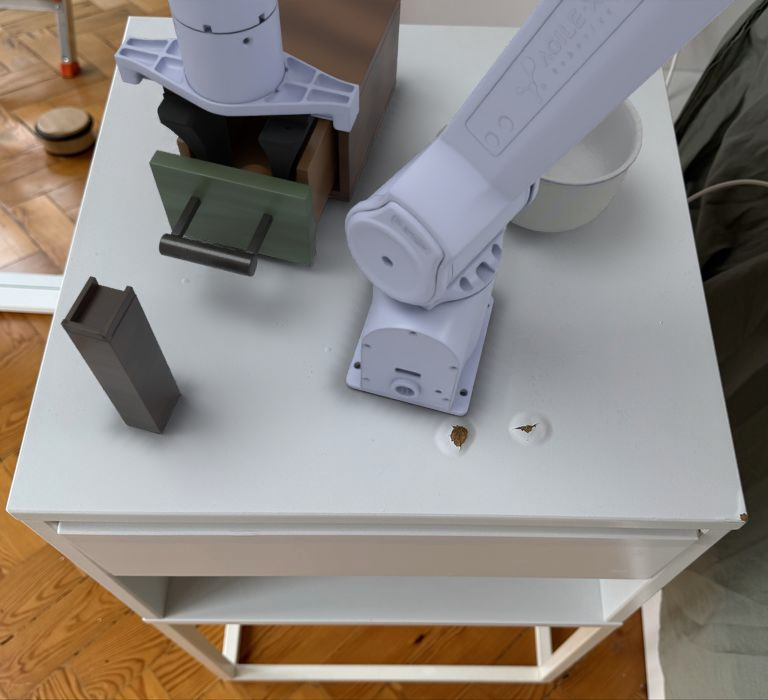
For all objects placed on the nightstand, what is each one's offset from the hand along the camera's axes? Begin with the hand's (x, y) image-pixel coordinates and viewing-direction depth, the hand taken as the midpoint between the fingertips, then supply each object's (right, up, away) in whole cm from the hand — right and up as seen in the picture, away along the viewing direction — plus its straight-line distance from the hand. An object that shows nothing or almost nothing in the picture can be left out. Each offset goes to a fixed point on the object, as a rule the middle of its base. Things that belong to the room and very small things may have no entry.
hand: (254, 181), depth 50 cm
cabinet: (+3, +7, +9) cm, 11 cm away
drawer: (0, -1, +3) cm, 3 cm away
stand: (-5, -15, -5) cm, 17 cm away
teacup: (+19, 0, +6) cm, 20 cm away
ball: (0, 0, 0) cm, 0 cm away
